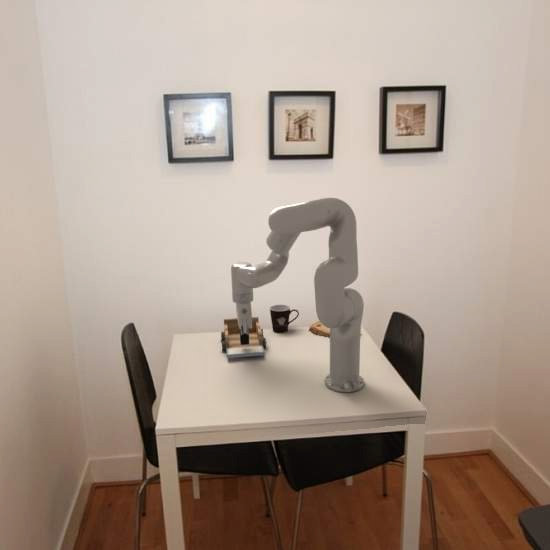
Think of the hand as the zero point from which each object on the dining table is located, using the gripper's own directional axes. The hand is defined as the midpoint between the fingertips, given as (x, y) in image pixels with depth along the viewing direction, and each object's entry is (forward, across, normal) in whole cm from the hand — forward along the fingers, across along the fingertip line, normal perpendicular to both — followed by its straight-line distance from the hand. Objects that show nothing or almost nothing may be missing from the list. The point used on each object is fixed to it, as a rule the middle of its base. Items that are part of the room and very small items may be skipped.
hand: (244, 343), depth 174 cm
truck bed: (+5, +11, 0) cm, 12 cm away
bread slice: (+5, +16, -38) cm, 42 cm away
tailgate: (+3, +2, 0) cm, 3 cm away
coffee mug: (+5, +22, -18) cm, 29 cm away
